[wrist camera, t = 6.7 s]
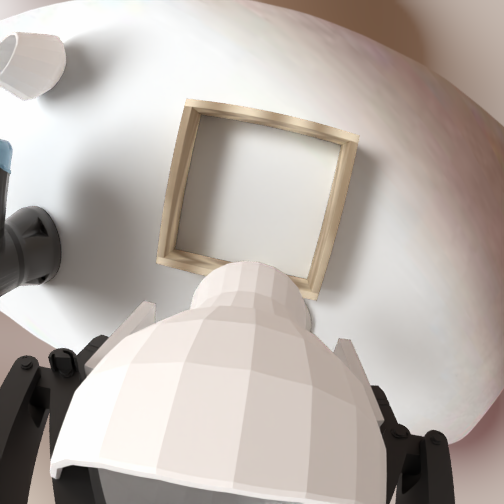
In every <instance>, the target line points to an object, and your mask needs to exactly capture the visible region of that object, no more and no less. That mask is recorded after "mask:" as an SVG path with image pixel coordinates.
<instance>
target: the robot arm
mask: <svg viewBox="0 0 504 504" xmlns="http://www.w3.org/2000/svg"><path fill="white" fill-rule="evenodd" d="M11 159H12V146H11V144H10V143H9V142H8V141H6V140H1V139H0V297H1V296H2V295H4V294H6V293H7V292H9V291H11V290H13V289H14V288H16V287H18V286H26V285H40V284H43V283H45V282H47V281H49V280H51V279H52V278H53V277H54V276H55V275H56V273H57V271H58V269H59V265H60V260H61V246H60V240H59V236H58V232H57V229H56V227H55V225H54V223H53V221H52V219H51V218H50V216H49V215H48V214H47V213H46V212H45V211H44V210H43V209H41V208H39V207H37V206H29V207H24V208H21V209H19V210H18V211H16V212H15V213H14V214H12V215H11V216H10V217H9V218H7V219H6V220H5V214H6V201H7V192H8V183H9V176H10V174H11V170H10V166H11ZM155 310H156V304H155V303H151V302H147V301H143V302H142V303H141V304H140V305H139V306H138V307H137V308H136V309H135V311H134V312H133V313H132V314H131V315H130V316H129V317H128V318H127V319H126V320H125V321H124V322H123V323H122V324H121V325H120V326H119V327H118V328H117V330H116V331H115V332H114V333H113V334H112V335H111V336H110V337H107V336H104V335H100V336H98V337H95V338H93V339H92V341H91V342H90V343H89V344H88V345H87V346H86V347H85V348H84V349H83V350H82V351H81V352H80V353H79V354H78V355H77V356H76V354H75V353H74V352H73V351H72V350H70V349H66V348H59V349H56V350H53V351H52V352H51V353H50V355H49V357H48V358H49V362H50V365H51V368H45V367H41V366H39V363H38V360H37V359H36V358H35V357H32V356H27V355H26V356H22V357H20V358H18V359H17V360H16V361H15V363H14V364H13V366H12V368H11V369H10V372H9V373H8V375H7V377H6V378H5V380H4V382H3V384H2V386H1V387H0V504H27V502H28V496H29V490H30V484H31V479H32V475H33V470H34V465H35V461H36V457H37V453H38V449H39V445H40V442H41V438H42V435H43V431H44V428H45V424H46V421H47V418H48V415H49V412H50V419H49V420H50V421H49V422H50V423H49V425H50V426H49V427H50V428H49V432H50V459H51V458H52V455H53V451H54V448H55V445H56V442H57V439H58V436H59V433H60V430H61V427H62V425H63V422H64V419H65V416H66V414H67V411H68V408H69V406H70V403H71V401H72V398H73V396H74V393H75V391H76V390H77V388H78V387H79V386H80V385H81V384H82V382H83V381H84V380H85V379H86V378H87V376H88V375H89V374H90V373H91V372H92V371H93V369H94V368H95V367H96V366H97V365H98V363H99V362H100V361H101V360H102V359H103V358H104V356H105V355H107V354H108V353H109V352H110V351H111V350H112V349H113V348H114V347H115V346H116V345H117V344H118V343H120V342H121V341H122V340H123V339H124V338H125V337H127V336H129V335H131V334H133V333H135V332H138V331H140V330H142V329H144V328H146V327H148V326H150V325H152V324H154V323H155ZM334 354H335V355H336V356H337V357H338V358H339V359H340V360H341V361H342V362H343V363H344V364H345V365H346V366H347V368H348V369H349V370H350V371H351V372H352V373H353V374H354V375H355V376H356V377H357V378H358V380H359V381H360V382H361V383H362V384H363V386H364V389H365V391H366V394H367V397H368V399H369V402H370V404H371V407H372V410H373V412H374V415H375V418H376V420H377V423H378V426H379V429H380V432H381V435H382V438H383V441H384V444H385V448H386V462H387V482H386V504H389V503H390V501H391V499H392V496H393V493H394V491H395V488H396V485H397V491H396V503H395V504H455V497H454V485H453V476H452V468H451V460H450V454H449V448H448V442H447V439H446V437H445V435H444V434H443V433H441V432H439V431H436V430H431V431H428V432H427V433H426V435H425V436H424V437H422V436H416V435H411V434H410V432H409V430H408V429H407V428H406V427H405V426H403V425H401V424H398V423H397V420H396V418H395V416H394V413H393V411H392V409H391V407H390V406H389V402H388V400H387V398H386V395H385V393H384V392H383V390H382V389H381V388H380V387H379V386H372V385H370V383H369V381H368V379H367V376H366V374H365V372H364V369H363V367H362V365H361V362H360V360H359V358H358V355H357V353H356V351H355V349H354V346H353V344H352V342H351V340H348V339H340V338H339V339H338V342H337V345H336V347H335V350H334ZM52 482H53V490H54V497H55V503H56V504H106V501H105V497H104V493H103V489H102V485H101V481H100V476H99V472H98V468H93V467H85V466H77V465H70V466H67V467H63V469H62V472H61V475H60V479H55V478H53V477H52Z"/></svg>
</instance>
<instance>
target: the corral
mask: <svg viewBox="0 0 504 504" xmlns="http://www.w3.org/2000/svg"><path fill="white" fill-rule="evenodd" d="M201 115H206V116H213V117H220V118H226V119H232V120H238V121H244V122H249V123H254V124H259V125H264V126H269V127H274V128H278V129H282V130H287V131H291V132H295V133H299V134H303V135H307V136H311V137H315V138H318V139H322V140H326V141H329V142H333V143H336V144H339V145H341V148H340V152H339V157H338V162H337V166H336V170H335V175H334V179H333V183H332V188H331V192H330V196H329V200H328V204H327V208H326V212H325V216H324V220H323V224H322V228H321V231H320V235H319V239H318V242H317V246H316V250H315V253H314V257H313V260H312V264H311V267H310V271H309V274H308V278H307V279H304V278H299V277H295V276H290V275H287V276H288V277H289V278H290V279H291V280H292V281H293V282H294V284H295V285H296V286H297V287H298V289H299V291H300V293H301V295H302V297H303V298H306V299H311V300H316V301H317V297H318V294H319V291H320V288H321V285H322V282H323V278H324V275H325V272H326V269H327V265H328V262H329V259H330V255H331V252H332V248H333V245H334V241H335V237H336V234H337V230H338V226H339V223H340V219H341V215H342V211H343V207H344V203H345V199H346V195H347V191H348V187H349V183H350V178H351V174H352V170H353V165H354V160H355V156H356V151H357V146H358V141H359V135H356V134H353V133H350V132H347V131H343V130H340V129H337V128H333V127H330V126H326V125H323V124H319V123H316V122H312V121H308V120H304V119H300V118H296V117H292V116H288V115H283V114H279V113H274V112H269V111H264V110H259V109H254V108H249V107H243V106H237V105H231V104H225V103H218V102H210V101H202V100H194V99H186V102H185V106H184V110H183V114H182V118H181V122H180V126H179V131H178V135H177V140H176V144H175V149H174V154H173V158H172V163H171V168H170V174H169V179H168V184H167V190H166V196H165V202H164V208H163V214H162V221H161V228H160V235H159V242H158V250H157V258H156V264H160V265H164V266H168V267H172V268H176V269H180V270H184V271H188V272H192V273H196V274H200V275H204V276H207V275H208V274H210V273H211V272H212V271H213V270H215V269H217V268H219V267H221V266H224V265H226V264H229V263H233V262H228V261H224V260H220V259H215V258H211V257H207V256H203V255H198V254H194V253H190V252H186V251H182V250H177V249H175V247H176V240H177V233H178V227H179V221H180V215H181V209H182V203H183V198H184V192H185V187H186V182H187V177H188V172H189V167H190V162H191V157H192V152H193V148H194V143H195V139H196V135H197V130H198V126H199V122H200V118H201ZM285 275H286V274H285Z"/></svg>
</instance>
